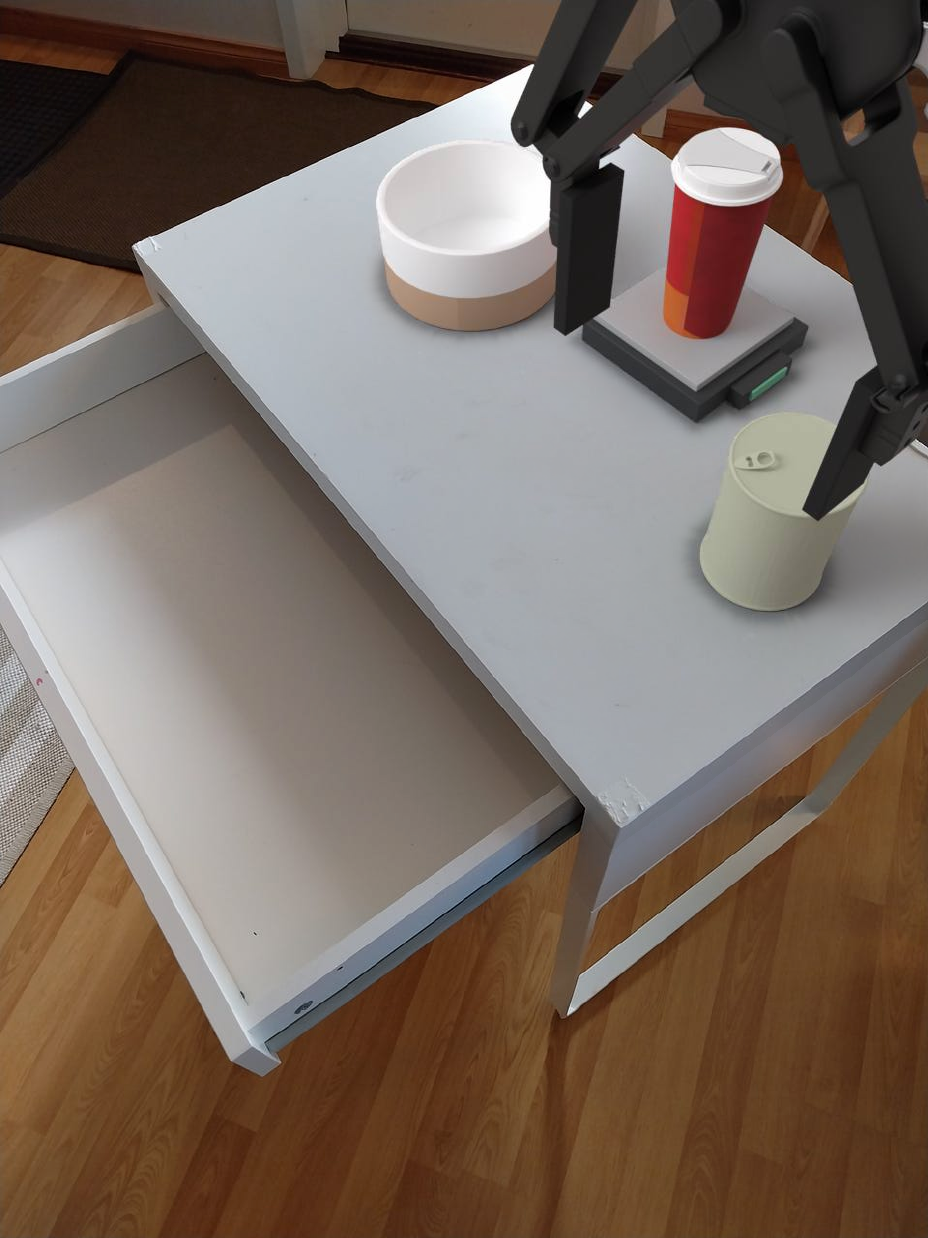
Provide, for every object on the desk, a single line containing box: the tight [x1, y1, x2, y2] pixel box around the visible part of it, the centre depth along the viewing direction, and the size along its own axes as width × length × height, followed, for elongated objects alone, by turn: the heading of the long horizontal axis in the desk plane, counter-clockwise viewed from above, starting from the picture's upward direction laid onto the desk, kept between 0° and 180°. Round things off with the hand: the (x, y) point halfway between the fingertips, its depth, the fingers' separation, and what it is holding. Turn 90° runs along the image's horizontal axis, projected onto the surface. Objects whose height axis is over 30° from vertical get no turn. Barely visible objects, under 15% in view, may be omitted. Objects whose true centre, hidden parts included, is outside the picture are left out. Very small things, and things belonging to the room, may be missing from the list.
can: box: [699, 411, 870, 612], centre depth 67 cm, size 9×9×12 cm
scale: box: [581, 264, 810, 424], centre depth 83 cm, size 16×14×3 cm
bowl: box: [375, 138, 557, 332], centre depth 88 cm, size 17×17×8 cm
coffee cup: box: [663, 127, 784, 339], centre depth 76 cm, size 8×8×15 cm
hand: (697, 401), depth 38 cm, fingers open, 13 cm apart
